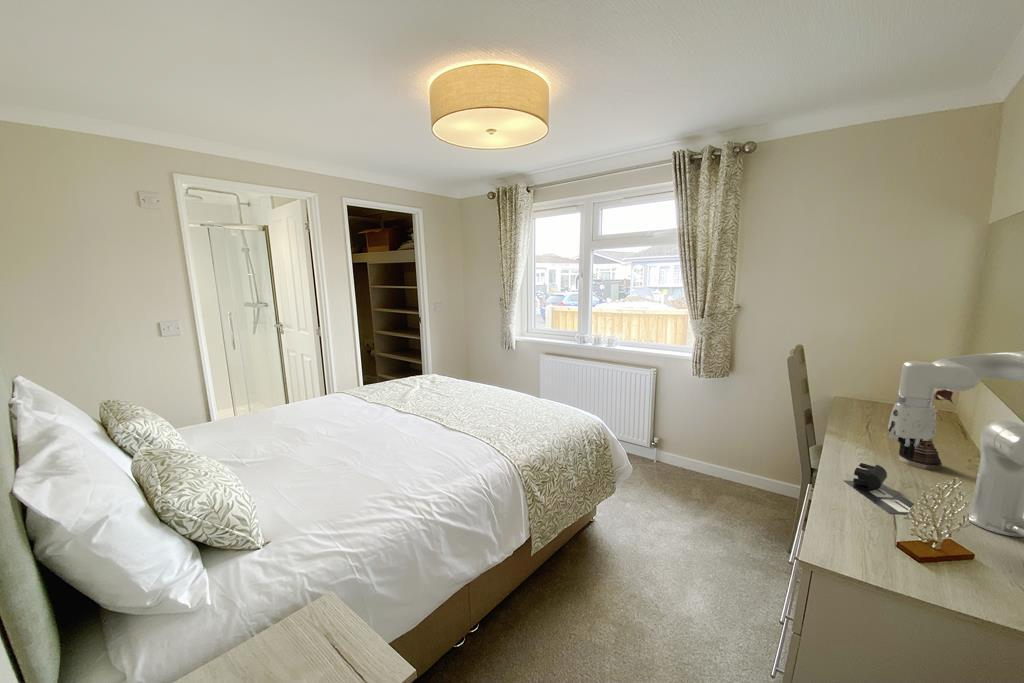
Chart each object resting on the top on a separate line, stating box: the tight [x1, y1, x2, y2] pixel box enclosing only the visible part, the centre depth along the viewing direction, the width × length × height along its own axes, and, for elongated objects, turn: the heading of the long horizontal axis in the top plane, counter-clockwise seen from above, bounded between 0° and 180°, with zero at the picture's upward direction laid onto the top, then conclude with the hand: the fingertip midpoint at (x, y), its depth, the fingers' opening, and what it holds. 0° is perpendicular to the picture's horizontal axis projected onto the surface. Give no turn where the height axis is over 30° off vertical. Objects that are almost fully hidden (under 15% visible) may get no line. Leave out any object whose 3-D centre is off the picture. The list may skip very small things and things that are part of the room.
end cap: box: [852, 462, 888, 491], centre depth 137 cm, size 10×7×7 cm
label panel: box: [843, 480, 915, 515], centre depth 131 cm, size 20×12×1 cm, turn 174°
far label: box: [869, 488, 894, 498], centre depth 136 cm, size 10×5×1 cm, turn 174°
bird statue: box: [898, 387, 954, 471], centre depth 153 cm, size 17×13×35 cm
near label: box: [881, 499, 911, 512], centre depth 126 cm, size 7×5×1 cm
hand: (905, 456), depth 123 cm, fingers closed
